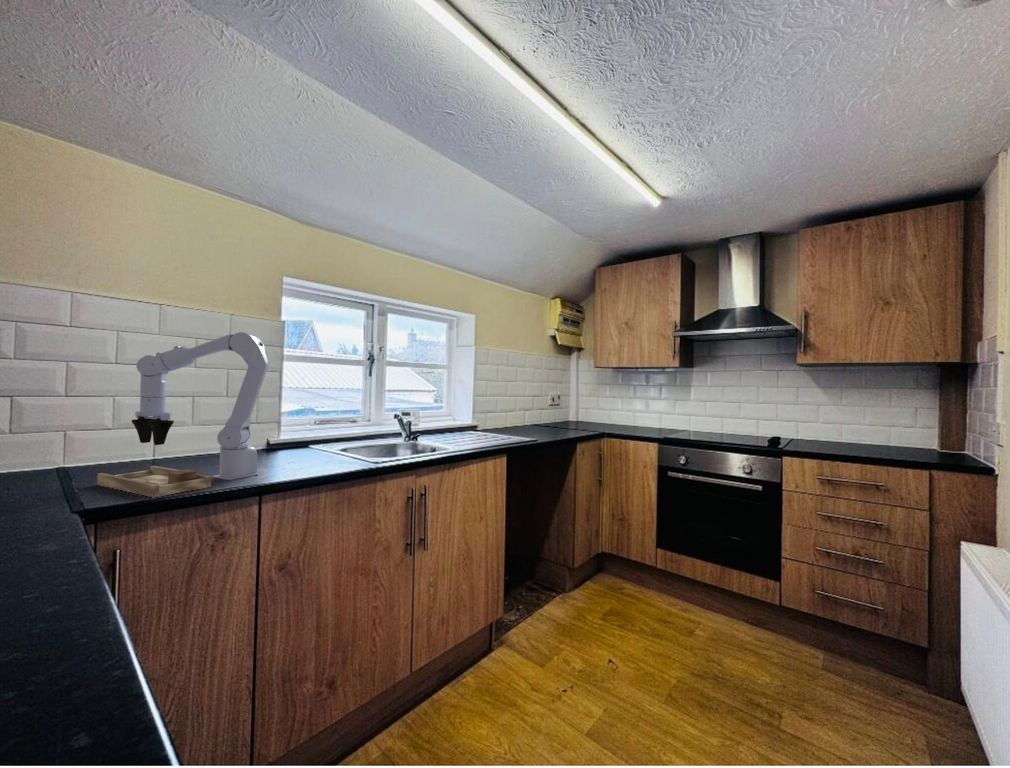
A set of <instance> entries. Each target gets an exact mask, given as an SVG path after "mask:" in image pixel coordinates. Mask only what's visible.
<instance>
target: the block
mask: <svg viewBox="0 0 1010 768" xmlns="http://www.w3.org/2000/svg"><path fill="white" fill-rule="evenodd" d="M180 470H181V469H180ZM196 477H197V470H192V469H182V470H181V471H174V472H168V484H173V483H179V482H184V481H190V480H196Z"/></svg>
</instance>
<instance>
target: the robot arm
mask: <svg viewBox="0 0 1010 768" xmlns="http://www.w3.org/2000/svg"><path fill="white" fill-rule="evenodd" d="M223 351H228V352H235V353H236V354H238V355H239V356H240V357H242V359H243V361H244V362H245V363H246V365H247V369H246V373H245V374H244V377H243V381H242V383H241V386H240V389H239V391H238V395H237V398H236V401H235V404H234V406H233V410H232V412H231V415H230V417H229V418H228V419H227V420H226V422H225V424H224V425H225V426H224V427H223V428H222V429H221V430H220V431H219V432H218V434H217V439H216V440H217V442H218V444H219V446H220V447H219V448H220V449H219V474H216V475H212V477H213V478H214V479H219V480H226V481H231V480H232V481H233V480H238V479H243V478H248V477H253V476H258V475H259V472H258V452H257V449H256V447H254V446H253V445H249V444H248V443H247V442H248V441H249V439H250V437H251V431H250V428H251V424H252V423H251V417H252V414H253V411H254V408H255V406H256V402H257V399H258V396H259V394H260V392H261V388H262V385H263V382H264V380H265V377H266V373H267V372H268V368H269V361H268V357H267V355H266V350H265V345H264V344H263V342H262V341H261V340H260V338H258V337H257V336H255V335H252V334H249V333H247V332H243V331H239V332H236V333H233V334H227V335H224V336H221V337H218V338H215V339H213V340H210V341H206V342H205V343H204V342H203V343H201V344H198V345H196V346H193V347H187V346H180V345H175V346H173V349H170V350H168V351H167V350H166V351H164V352H160V351H159V352H155V356H154V355H147V354H146V355H144V356H141V358H139V359H138V360H137V362H136V370H137V372H139V373H140V391H139V392H140V394H139V397H140V398H139V404H140V406H139V410H138V411H135V413H134V415H135V419H131V423H132V425H134V427H135V430H136V432H137V435H138V439H139V442H140V444H147V443H150V442H151V441H153V444H154V446H161V445H165V442H166V439H167V437H168V433H169V432H170V429H171V427H172V426H173V425H174V423H175V421H174V420H171V413H169V412H166V394H167V393H166V385H167V382H166V380H167V379H166V378H167V374H168V373H169V372H172V371H176V370H179V369H182V368H186V367H187V366H191V365H193V364H194V363H195V361H196V360H197V359H198V358H203V357H205V356H209V355H213V354H216V353H219V352H223ZM152 438H153V439H152Z"/></svg>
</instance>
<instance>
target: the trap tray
mask: <svg viewBox="0 0 1010 768" xmlns="http://www.w3.org/2000/svg"><path fill="white" fill-rule="evenodd" d="M174 471H181V469H175V468H170V467H165V466H160V465H159V466H158V465H152V466H151V465H150V467H149V469H147V470H141V471H134V472H126V473H120V474H109V473H105V472H99V473H97V482H96V483H97V486H100V487H103V488H104V487H105V488H108V487H109V488H108V489H112V488H114V489H113V490H116V489H118V490H117V491H120V490H123V491H122V492H124V491H127V492H126V493H128V492H132V493H136V494H141V495H146V496H152V497H154V496H162V495H167V494H173V493H179V492H184V491H189V492H192V491H191V490H194V491H197V490H196V489H199V490H203V488H204V489H209V488H211V487H212V476H211V475H208V474H202V473H197V477H196V480H190V481H184V482H179V483H173V484H168V472H174ZM208 487H209V488H208ZM132 493H131V494H132ZM184 493H185V492H184ZM136 494H135V495H136ZM179 494H180V493H179ZM141 495H140V496H141Z"/></svg>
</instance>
